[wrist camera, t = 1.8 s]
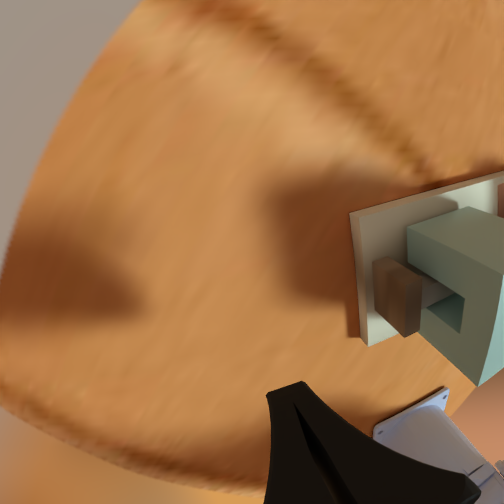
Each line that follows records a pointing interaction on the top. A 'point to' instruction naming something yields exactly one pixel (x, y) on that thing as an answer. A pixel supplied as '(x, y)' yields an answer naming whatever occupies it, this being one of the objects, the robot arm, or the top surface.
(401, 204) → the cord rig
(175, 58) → the top surface
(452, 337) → the sleeve
